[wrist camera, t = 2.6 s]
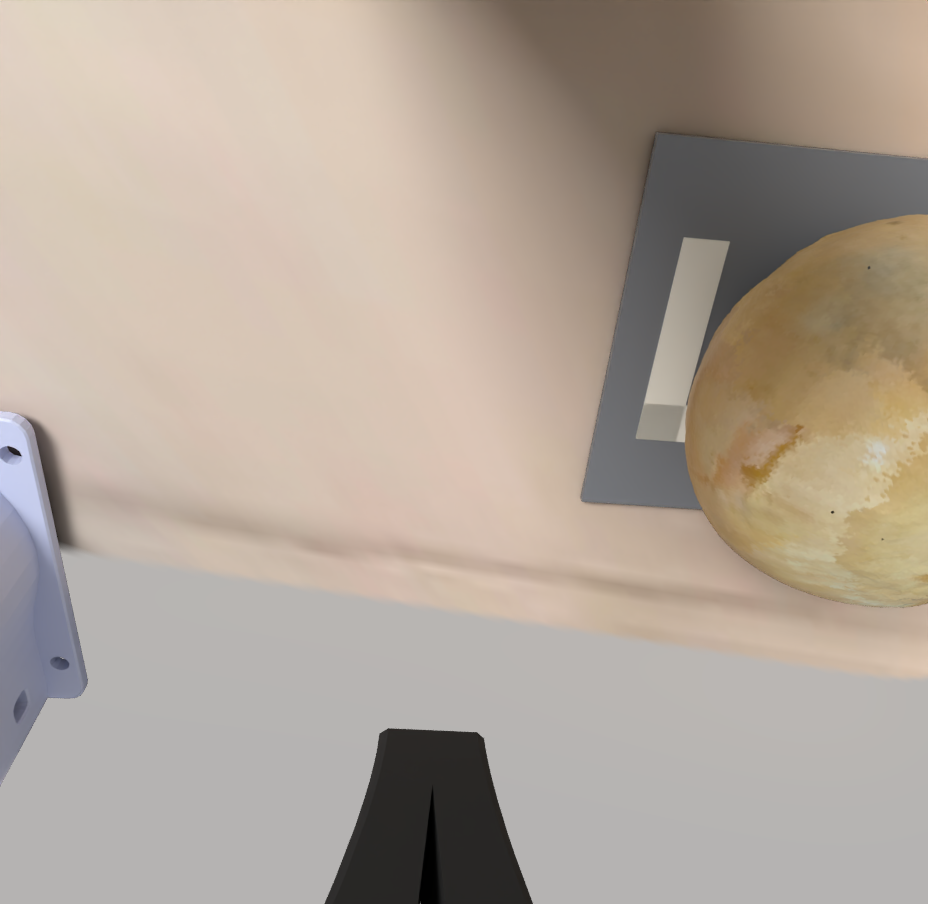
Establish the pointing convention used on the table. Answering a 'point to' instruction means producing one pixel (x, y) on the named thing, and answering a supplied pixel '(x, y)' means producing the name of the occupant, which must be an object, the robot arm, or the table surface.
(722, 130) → the table surface
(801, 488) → the onion
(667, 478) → the card
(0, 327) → the table surface
